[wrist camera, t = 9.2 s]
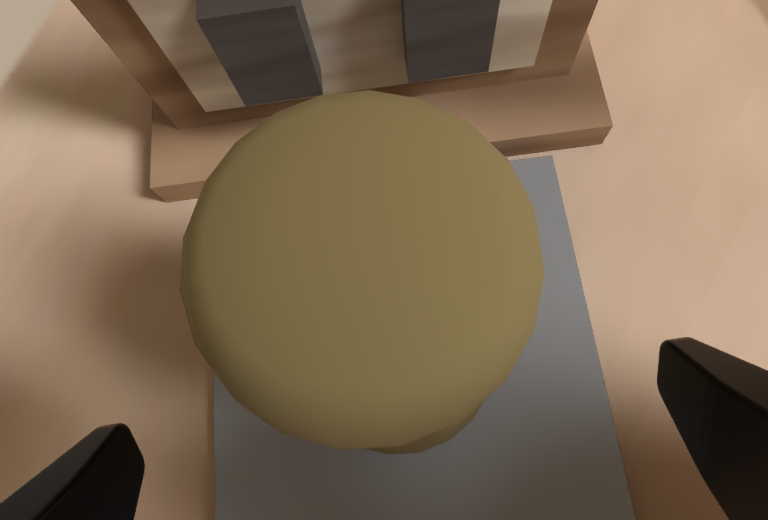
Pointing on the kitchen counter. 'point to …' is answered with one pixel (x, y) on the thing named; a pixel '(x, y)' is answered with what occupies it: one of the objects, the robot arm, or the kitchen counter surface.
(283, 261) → the cork
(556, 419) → the mat
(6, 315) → the kitchen counter surface
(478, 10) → the switch panel
